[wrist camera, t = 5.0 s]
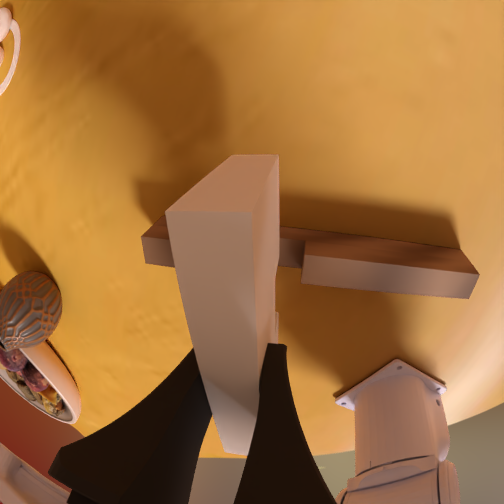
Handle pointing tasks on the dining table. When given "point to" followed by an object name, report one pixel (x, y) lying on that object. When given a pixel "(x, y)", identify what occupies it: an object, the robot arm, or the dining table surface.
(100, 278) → the dining table surface
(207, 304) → the notched white slab
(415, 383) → the robot arm
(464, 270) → the walnut rail
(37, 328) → the vase
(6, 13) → the teacup and saucer
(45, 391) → the bowl
